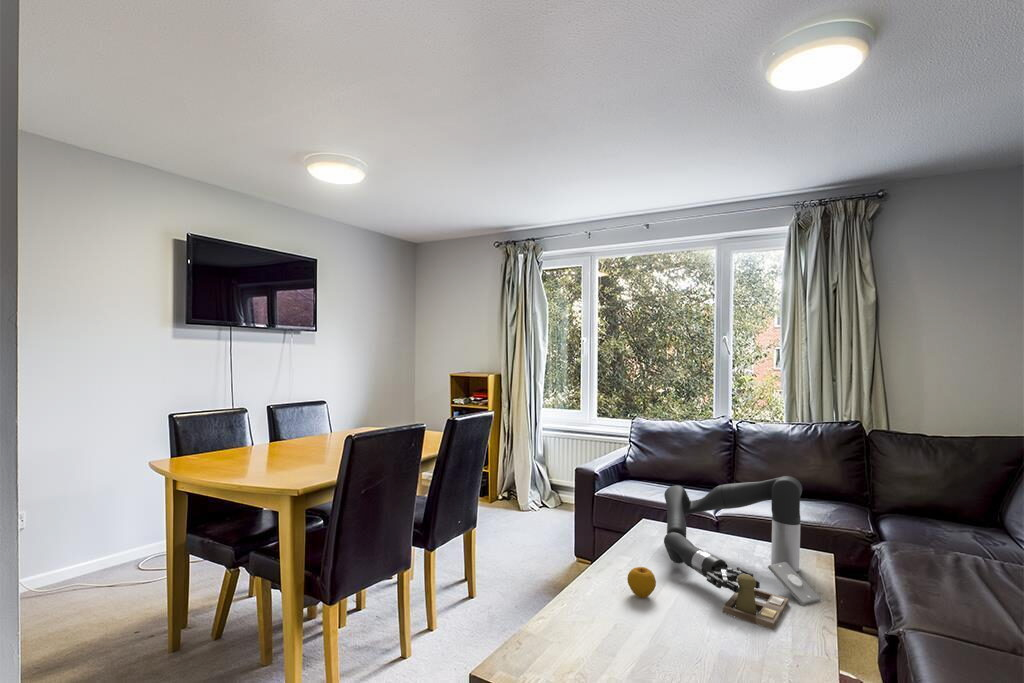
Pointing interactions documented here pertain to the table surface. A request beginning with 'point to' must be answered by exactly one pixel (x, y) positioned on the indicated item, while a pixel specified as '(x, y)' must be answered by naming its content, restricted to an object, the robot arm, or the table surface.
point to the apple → (641, 581)
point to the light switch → (794, 583)
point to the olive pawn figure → (746, 594)
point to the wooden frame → (760, 609)
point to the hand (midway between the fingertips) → (748, 587)
